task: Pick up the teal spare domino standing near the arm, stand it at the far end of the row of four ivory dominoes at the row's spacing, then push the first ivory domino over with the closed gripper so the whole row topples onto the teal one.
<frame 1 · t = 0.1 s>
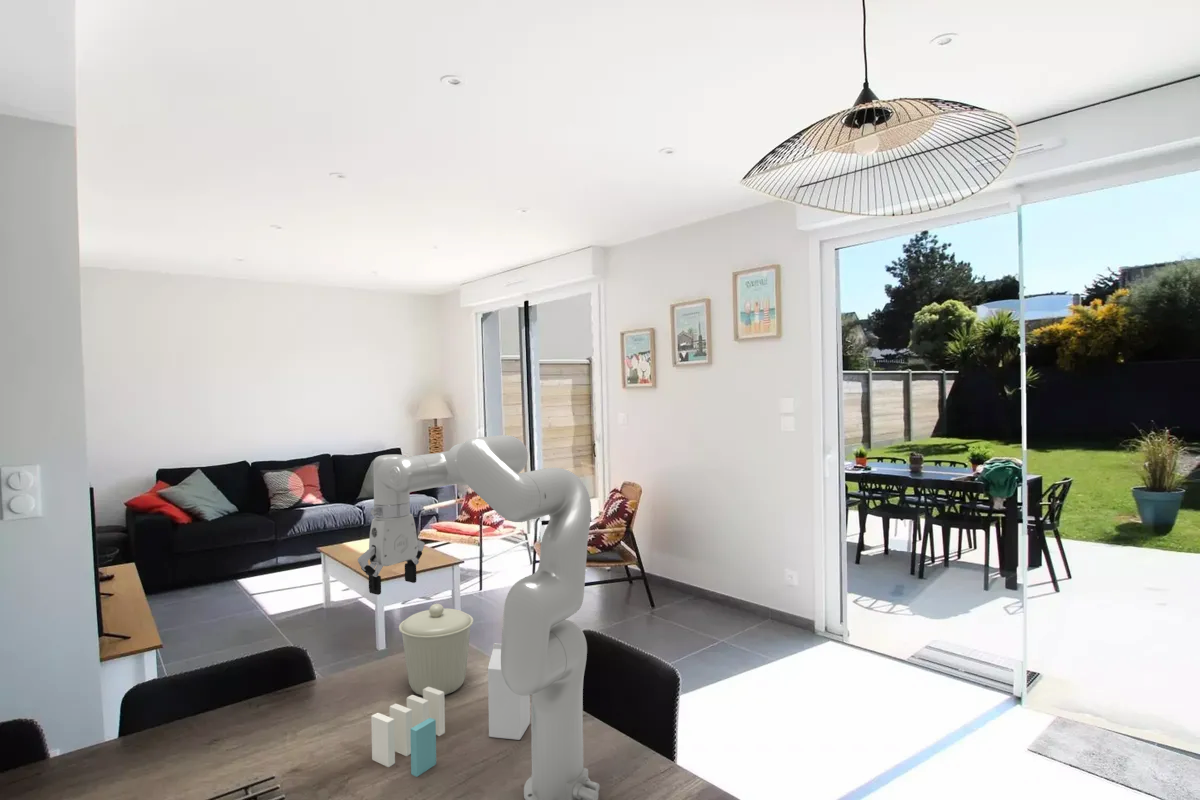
hand: (393, 587, 144), 31 cm above the table, tool pointing down, fingers open, 9 cm apart
domino 4: (383, 761, 131), on the table
domino 2: (418, 740, 138), on the table
milk carton: (509, 731, 142), on the table
canister: (437, 688, 163), on the table
spare domino: (423, 769, 128), on the table
domino 1: (434, 731, 142), on the table
domino 3: (401, 750, 134), on the table
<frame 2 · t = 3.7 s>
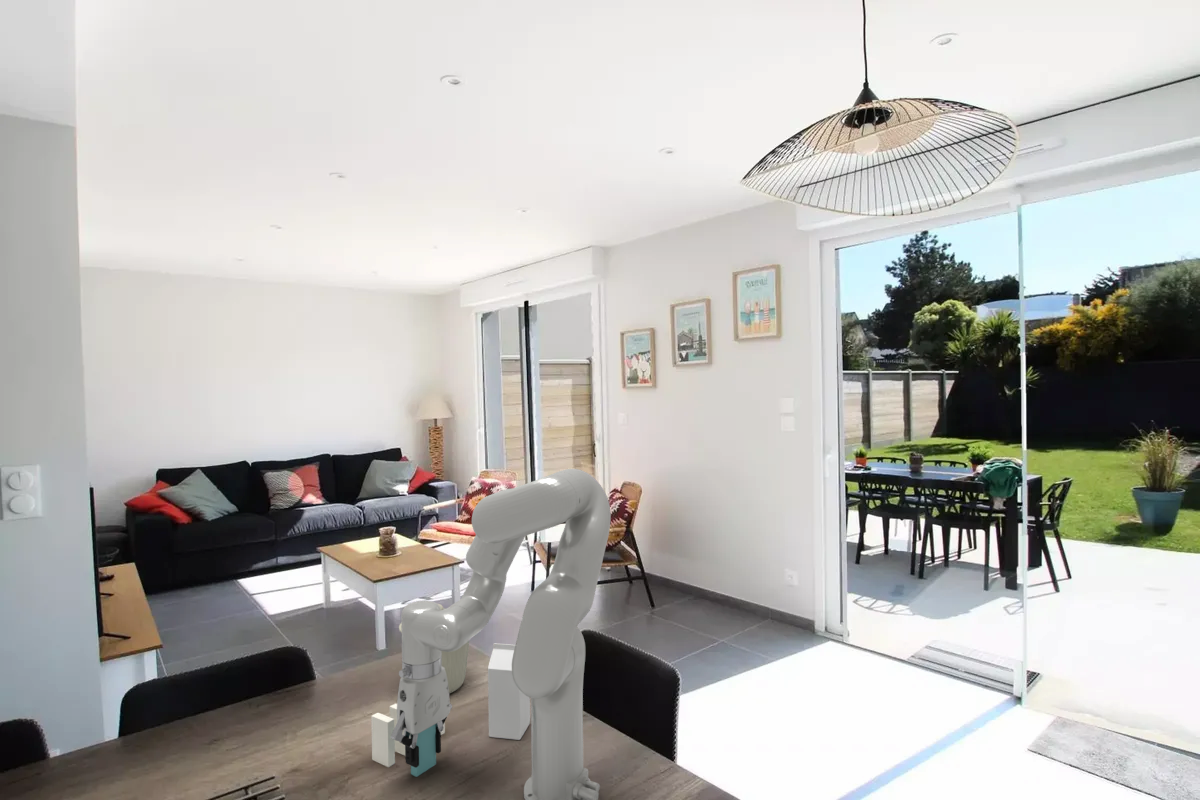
hand: (423, 756, 128), 2 cm above the table, tool pointing down, fingers closed on spare domino, 4 cm apart
spare domino: (423, 769, 128), on the table, touching gripper
everything else where it was.
when the fingers open (3 cm above the table, at t = 9.3 s): spare domino stays where it is, on the table.
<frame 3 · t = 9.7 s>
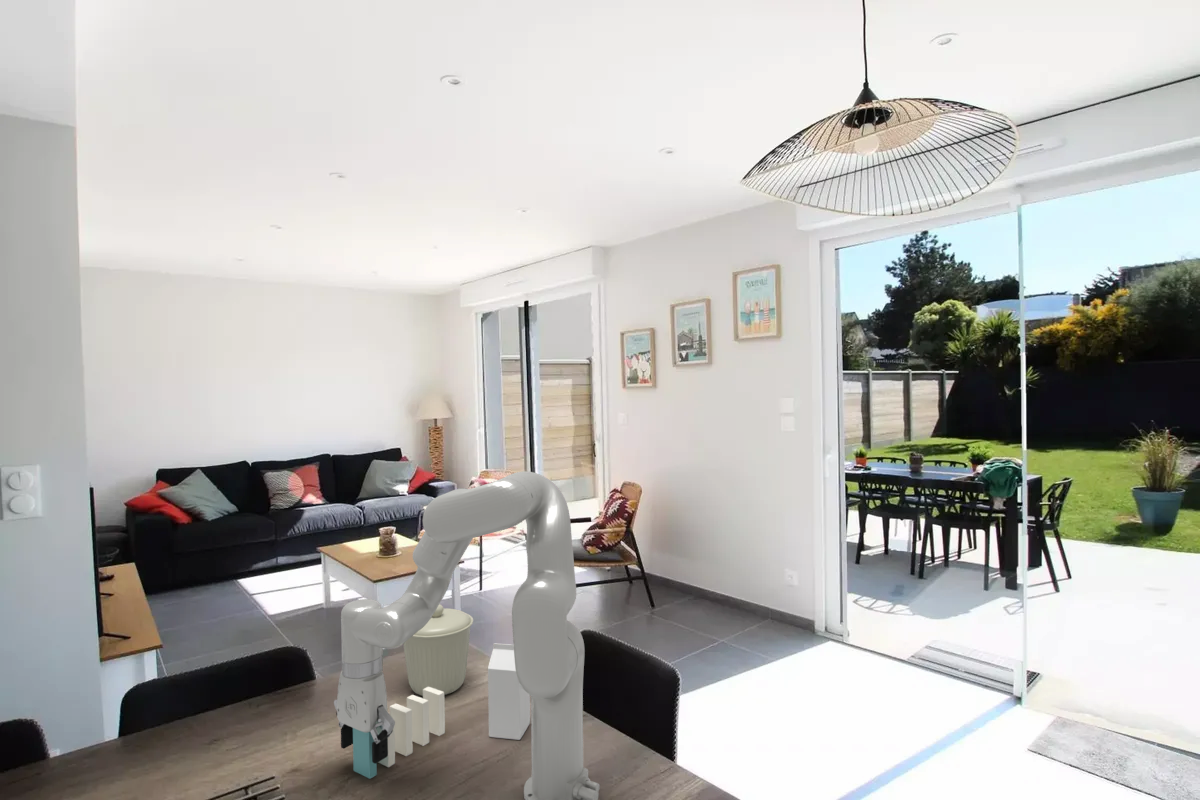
hand: (364, 752, 127), 4 cm above the table, tool pointing down, fingers open, 9 cm apart
spare domino: (365, 772, 127), on the table
everything else where it was.
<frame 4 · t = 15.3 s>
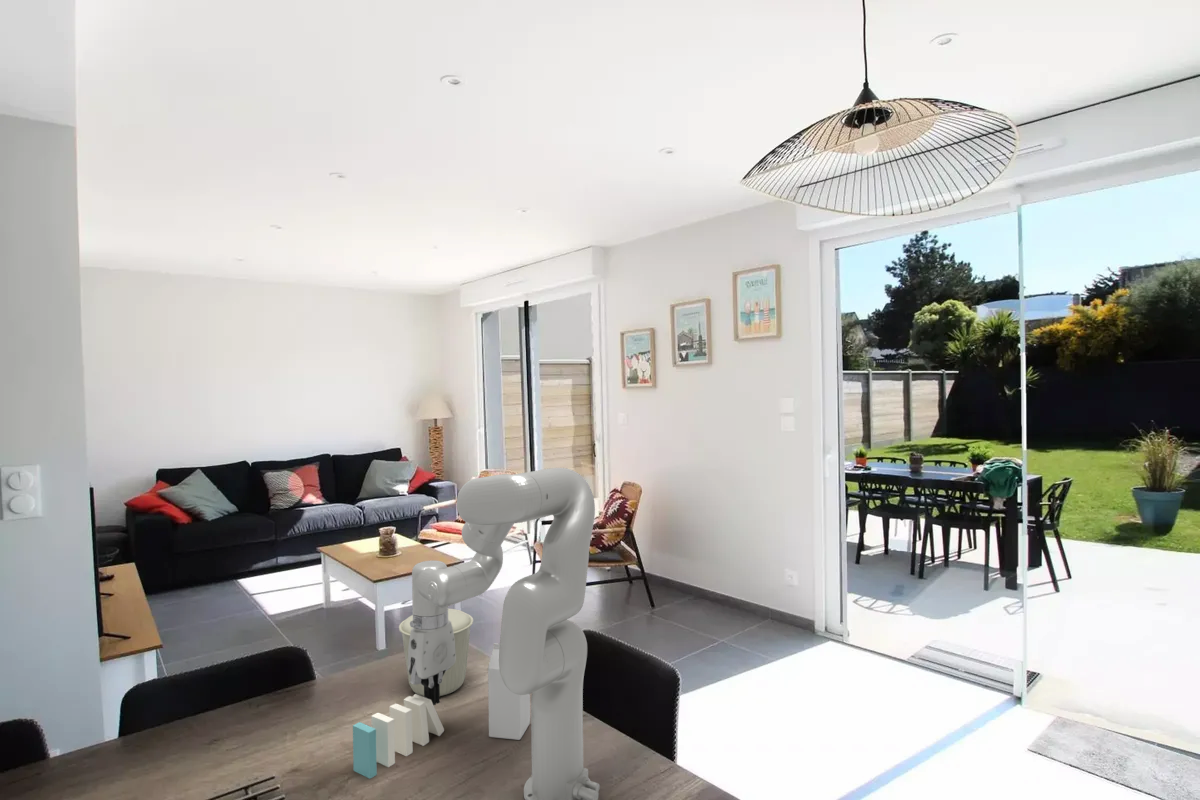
hand: (432, 702, 141), 7 cm above the table, tool pointing down, fingers closed
domino 2: (418, 740, 138), on the table, tilted 5°
domino 1: (433, 729, 142), on the table, tilted 24°
everything else where it was.
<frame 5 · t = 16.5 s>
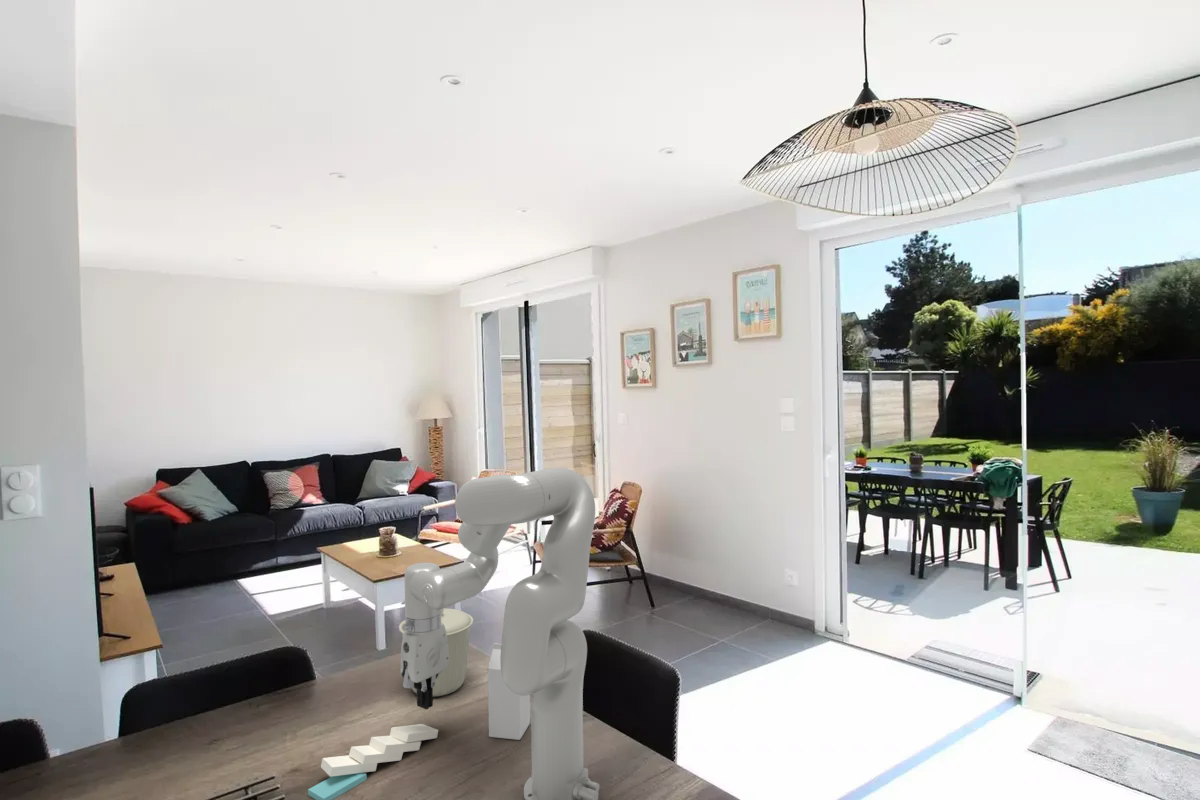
hand: (424, 706, 140), 7 cm above the table, tool pointing down, fingers closed
domino 4: (371, 762, 129), point 1 cm above the table, tilted 74°, touching domino 3, spare domino
domino 2: (412, 742, 136), point 1 cm above the table, tilted 69°, touching domino 3
spare domino: (358, 774, 126), on the table, tilted 90°, touching domino 4
domino 1: (429, 730, 141), point 1 cm above the table, tilted 70°
domino 3: (394, 751, 133), point 1 cm above the table, tilted 70°, touching domino 2, domino 4
everything else where it was.
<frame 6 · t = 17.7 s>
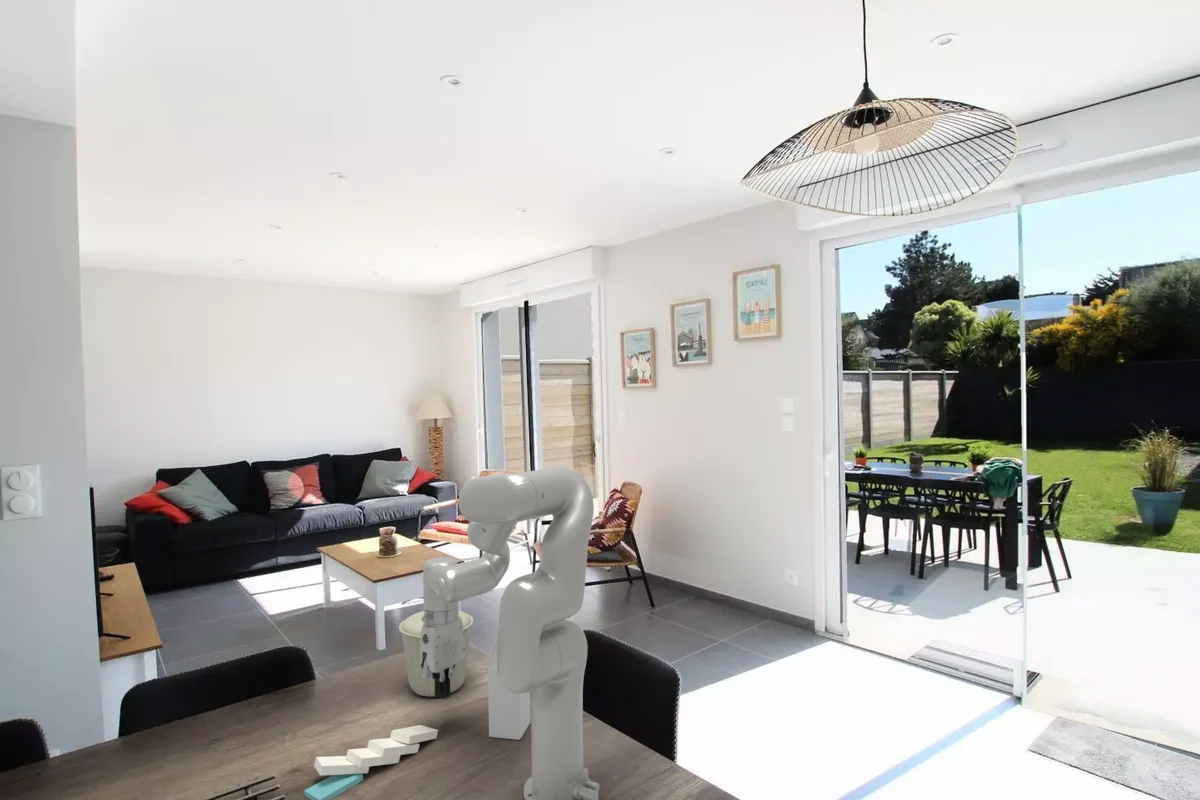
hand: (442, 695, 144), 7 cm above the table, tool pointing down, fingers closed
domino 4: (364, 764, 128), point 1 cm above the table, tilted 73°, touching domino 3, spare domino
domino 2: (410, 744, 135), point 1 cm above the table, tilted 70°, touching domino 3
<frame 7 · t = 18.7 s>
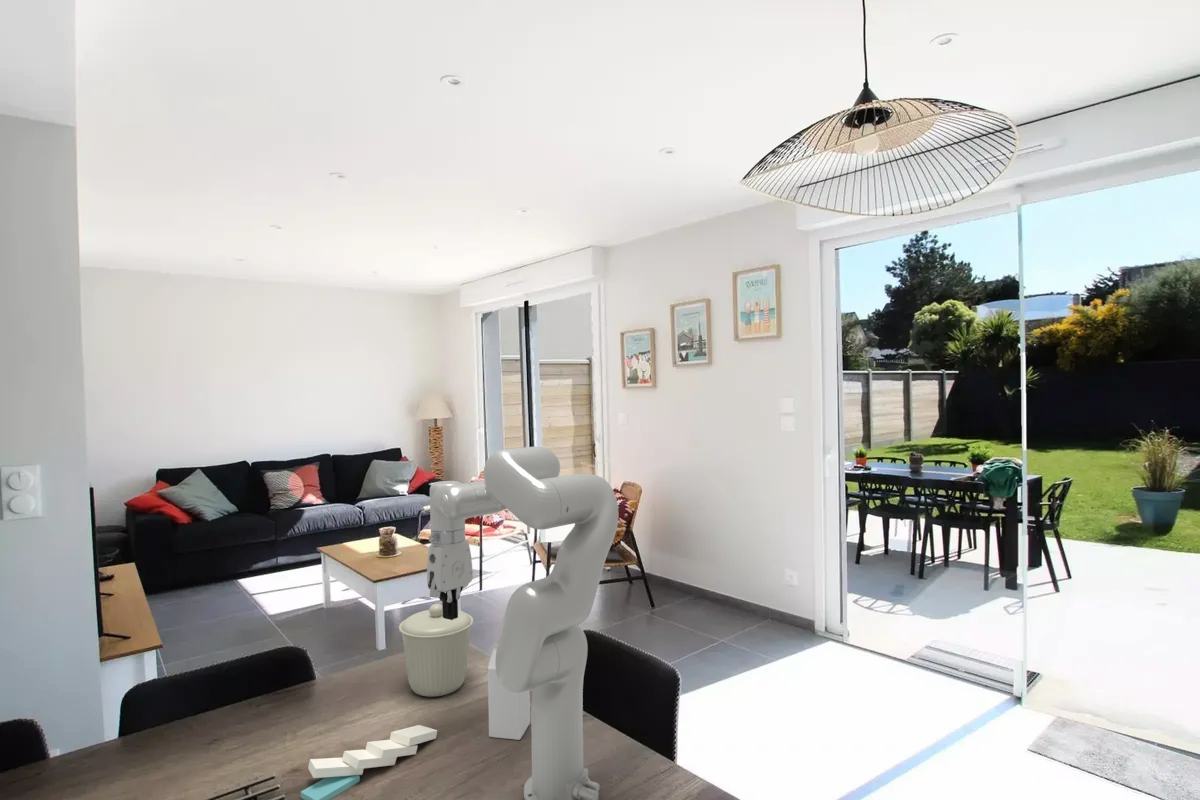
hand: (450, 617, 145), 24 cm above the table, tool pointing down, fingers closed
domino 4: (359, 765, 127), point 1 cm above the table, tilted 75°, touching domino 3, spare domino
domino 2: (408, 746, 135), point 1 cm above the table, tilted 70°, touching domino 1, domino 3
domino 1: (427, 731, 140), point 1 cm above the table, tilted 73°, touching domino 2
domino 3: (388, 756, 131), point 1 cm above the table, tilted 69°, touching domino 2, domino 4
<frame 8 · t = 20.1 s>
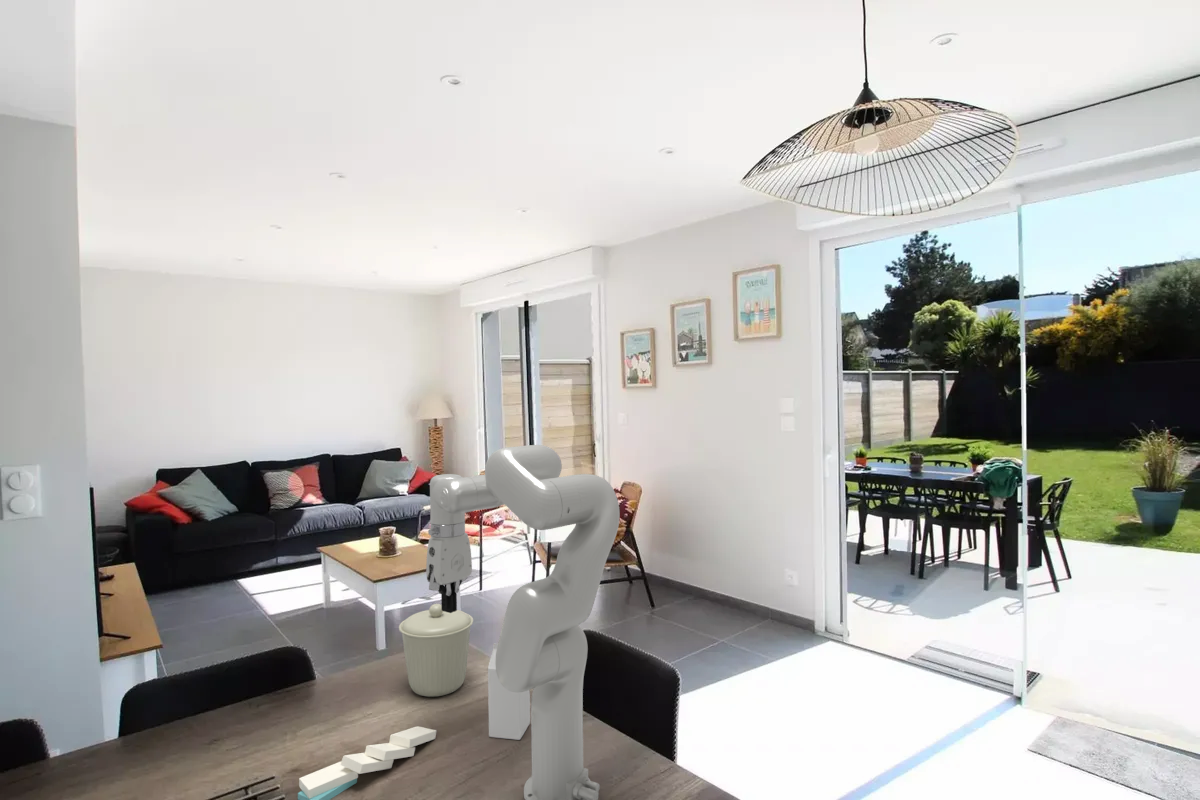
hand: (449, 610, 146), 25 cm above the table, tool pointing down, fingers closed
domino 4: (352, 768, 125), point 2 cm above the table, tilted 90°, touching spare domino
domino 2: (404, 748, 134), point 1 cm above the table, tilted 67°, touching domino 3
domino 1: (426, 732, 140), point 1 cm above the table, tilted 74°
domino 3: (383, 759, 130), point 1 cm above the table, tilted 67°, touching domino 2
at the end: spare domino tilted 90°; spare domino inside the target area (1.7 cm from its centre), on the table; domino 1 tilted 75° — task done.
